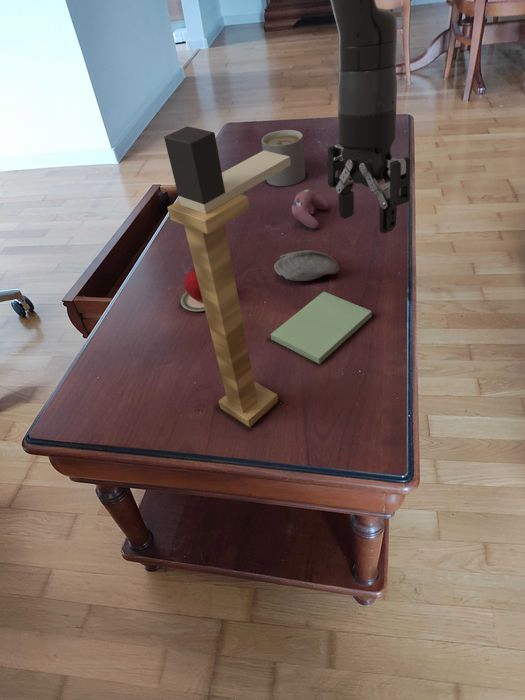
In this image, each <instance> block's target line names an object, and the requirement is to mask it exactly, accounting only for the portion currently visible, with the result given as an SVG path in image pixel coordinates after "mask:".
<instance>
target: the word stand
mask: <svg viewBox="0 0 525 700" xmlns="http://www.w3.org/2000/svg"><path fill="white" fill-rule="evenodd" d="M247 211H250V203H249V197H248V196H247V195H244V194H242V193H241V194H240V195H238V196H236V197H235V198H233V199H231V200H229V201H228V202H226V203H224V204H222V205H221V206H219V207H217V208H216V209H214V210H212V211H210V212H209V213H207V214H204V213H202V212H199V211H196V210H193V209H190V208H188V207H185V206H182V205H180V201H179V200H178V201H175V202H173V203H172V204H170V205H169V206H167V212H168V215H169V219H170V221H173V222H176V223H178V224H180V225H183V227H184V230H185V235H186V239H187V243H188V246H189V247H188V248H189V251H190V255H191V259H192V263H193V267H194V269H195V271H196V275H197V279H198V283H199V287H200V292H201V296H202V300H203V304H204V308H205V311H204V312H205V315H206V316H205V317H206V320H207V324H208V327H209V328H208V329H209V331H210V335H211V340H212V343H213V348H214V352H215V357H216V360H217V364H218V368H219V372H220V375H221V376H220V377H221V380H222V384H223V388H224V392H225V393H224V394H225V395H224V396H223V397H221V398H220V399H219V400H218V404H219V408H220V409H221V410H223V411H224V412H225V413H227V414H229V415H230V416H231V417H233V418H235V419H236V420H237V421H239V422H240V423H242V424H243V425H245V426H247V427H248V428H251V427H252V426H253V425H254V424H256V422H258V421H259V420H261V418H262V417H263V416H264V415H265V414H267V413H268V412H269V411H270V410H271V409H272V408H273V407H275V405H276V404H278V402H279V397H278V394H277V393H276V392H274V391H272V390H270V389H268V388H267V387H265V386H263V385H262V384H260V383H259V382H257V381H255V379H254V374H253V368H252V363H251V358H250V354H249V353H250V352H249V347H248V343H247V342H248V341H247V337H246V332H245V326H244V322H243V315H242V310H241V306H240V305H241V304H240V300H239V295H238V290H237V284H236V279H235V274H234V268H233V263H232V257H231V252H230V247H229V242H228V236H227V230H226V226H225V225H227V223H229V222H231V221H233V220H235V219H236V218H238V217H240V216H241V215H242V214H244V213H246V212H247Z"/></svg>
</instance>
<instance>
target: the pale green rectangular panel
mask: <svg viewBox="0 0 525 700" xmlns="http://www.w3.org/2000/svg"><path fill="white" fill-rule="evenodd" d="M372 315H373V311H372V310H370V309H367V308H365V307H363V306H360V305H358V304H356V303H353V302H351V301H349V300H346V299H343V298H341V297H338V296H336V295H333V294H331V293H328V292H326V291H322V292H321V293H320V294H318V295H317V296H316V297H314V299H312V300H311V301H310V302H308V304H306V305H305V306H304V307H302V308H301V309H300V310H299V311H297V312H296V313H295V314H294V315H292V316H290V318H289V319H287V320H286V321H285V322H284V323H282V324H281V325H280V326H279V327H278V328H276V329H275V330H274V331H272V332H271V333H270V339H271V341H273V342H276V343H277V344H279V345H281V346H284V347H285V348H287V349H289V350H291V351H293V352H295V353H297V354H299V355H301V356H303V357H305V358H307V359H309V360H311V361H312V362H314V363H317V364H319V365H320V364H321V363H322V362H324V361H325V360H326V359H327V358H328V357H329V356H331V355H332V353H333V352H335V351H336V350H337V349H338V348H339V347H340V346H341V345H342V344H344V343H345V342H346V341H347V340H348V339H349V338H350V337H351V336H352V335H353V334H354V333H356V332H357V331H358V330H359V329H360V328H362V326H363V325H364V324H365V323H366V322H367V321H369V320H370V319H371V318H372V317H373V316H372Z"/></svg>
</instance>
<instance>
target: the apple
mask: <svg viewBox="0 0 525 700" xmlns="http://www.w3.org/2000/svg"><path fill="white" fill-rule="evenodd" d="M183 284H184V289H185V292H184V293H183V294H182V296H181V297H180V304H181V306H182V307H183V309H185V310H188V311H190V312H205V308H204V304H203V300H202V296H201V292H200V287H199V283H198V279H197V275H196V271H195V268H194V269H190V268H189V269H188V273H187V274H186V275H185V278H184V281H183Z"/></svg>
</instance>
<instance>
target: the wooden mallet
mask: <svg viewBox="0 0 525 700" xmlns="http://www.w3.org/2000/svg"><path fill="white" fill-rule="evenodd" d="M163 139H164V143H165V147H166V151H167V155H168V159H169V163H170V167H171V171H172V175H173V179H174V185H175V188H176V192H177V197H178V201H180V205H182V206H185V207H188V208H190V209H193V210H196V211H199V212H202V213H204V214H207V213H209V212H210V211H212V210H214V209H216V208H217V207H219V206H221V205H222V204H224V203H226V202H228V201H229V200H231V199H233V198H235V197H236V196H238V195H240V194H241V195H242V194H243V193H245V192H247V191H249V190H250V189H252V188H254V187H255V186H257V185H259V184H260V183H262V182H264V181H266V179H267V178H269V177H271V176H273V175H274V174H276V173H278V172H280V171H281V170H283V169H285V168H286V167H288V166H290V165H291V164H290V156H285V155H281V154H277V153H272V152H268V151H263V150H261V151H260V152H258V153H256V154H254V155H252V156H251V157H248V158H246V159H245V160H243V161H241V162H239V163H237V164H236V165H234V166H232V167H230V168H228V169H226V170H224V171H223V172H222V167H221V161H220V156H219V149H218V145H217V144H218V143H217V138H216V133H215V131H211V130H206V129H201V128H197V127H192V126H188V125H187V126H184V127H182V128H180V129H178V130H176V131H173V132H171V133H169V134H167V135H165V136H163Z"/></svg>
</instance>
